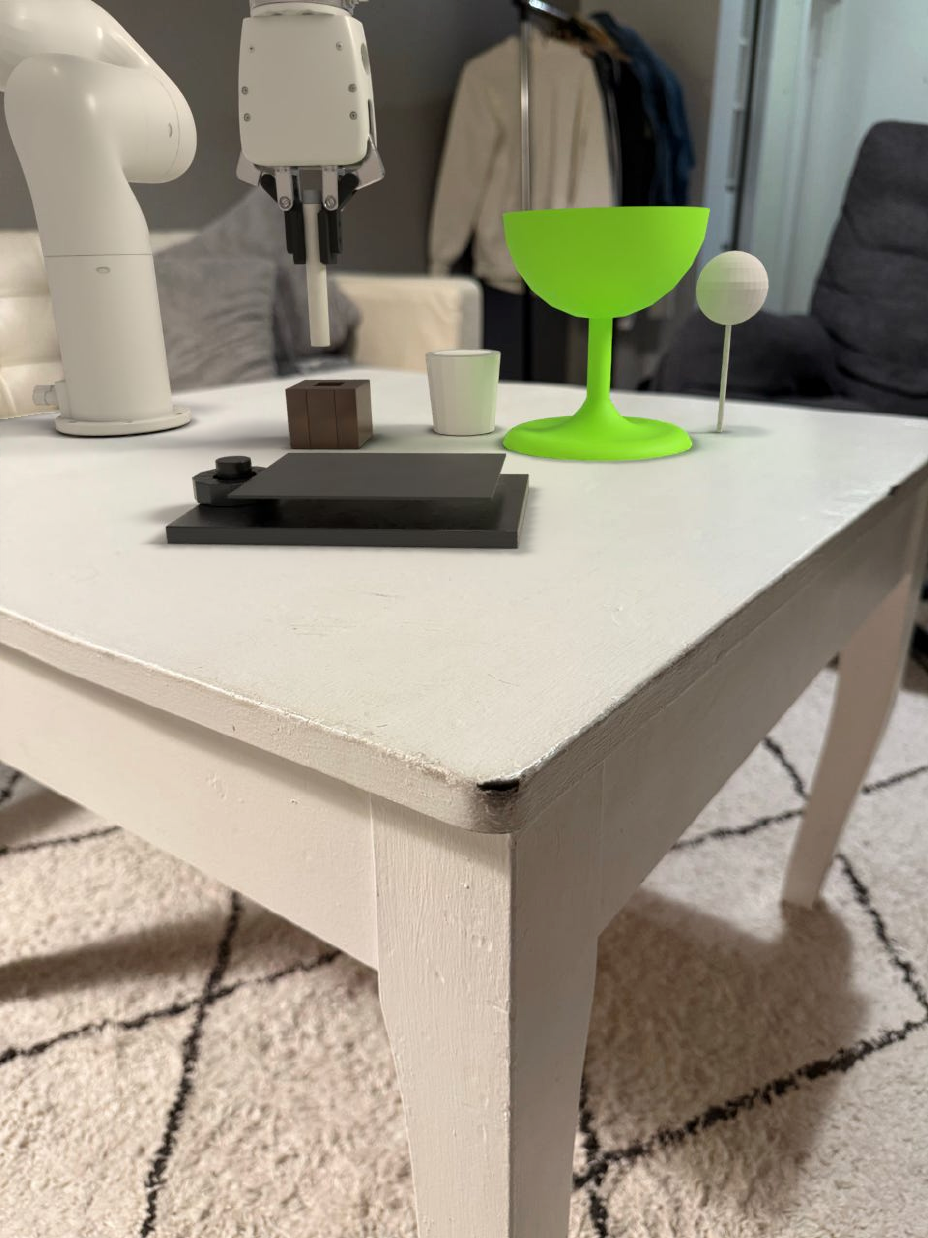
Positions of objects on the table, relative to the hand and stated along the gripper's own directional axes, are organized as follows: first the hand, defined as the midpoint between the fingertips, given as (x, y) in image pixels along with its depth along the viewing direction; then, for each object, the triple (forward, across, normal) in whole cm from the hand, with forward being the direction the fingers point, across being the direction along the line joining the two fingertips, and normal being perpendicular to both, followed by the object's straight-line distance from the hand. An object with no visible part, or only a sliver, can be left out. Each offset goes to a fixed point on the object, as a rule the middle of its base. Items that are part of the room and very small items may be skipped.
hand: (315, 262), depth 75 cm
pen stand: (+15, -1, 0) cm, 15 cm away
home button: (+12, 0, +24) cm, 27 cm away
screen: (+12, -10, +24) cm, 29 cm away
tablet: (+14, -9, +24) cm, 29 cm away
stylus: (+7, 0, 0) cm, 7 cm away
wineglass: (+15, -24, 0) cm, 28 cm away
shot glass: (+15, -12, -6) cm, 20 cm away
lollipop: (+14, -35, -5) cm, 38 cm away
